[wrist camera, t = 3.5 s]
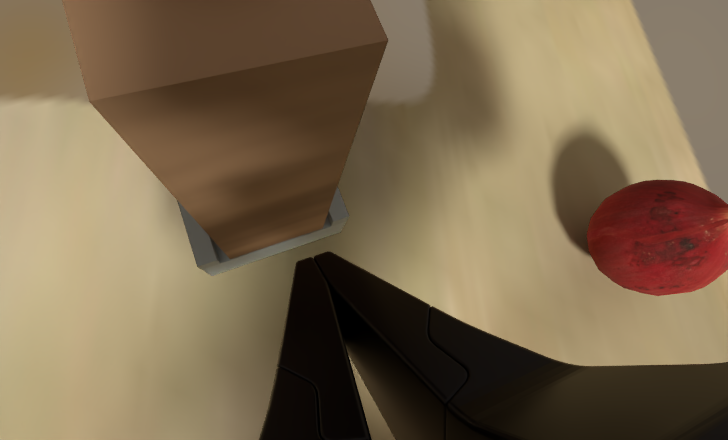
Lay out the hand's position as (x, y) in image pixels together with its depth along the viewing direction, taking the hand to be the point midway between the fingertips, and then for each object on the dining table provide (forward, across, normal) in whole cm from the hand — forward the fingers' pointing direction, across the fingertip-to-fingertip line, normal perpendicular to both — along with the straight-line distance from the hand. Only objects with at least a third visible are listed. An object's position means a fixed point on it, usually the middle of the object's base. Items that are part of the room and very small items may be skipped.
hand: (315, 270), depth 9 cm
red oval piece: (+5, -18, +10) cm, 21 cm away
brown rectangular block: (+8, 0, +1) cm, 8 cm away
